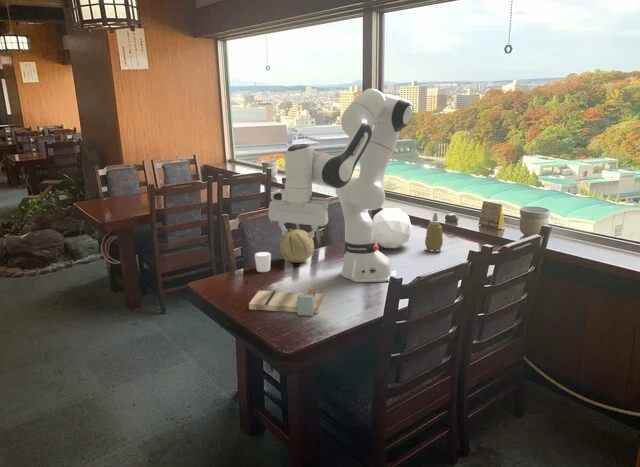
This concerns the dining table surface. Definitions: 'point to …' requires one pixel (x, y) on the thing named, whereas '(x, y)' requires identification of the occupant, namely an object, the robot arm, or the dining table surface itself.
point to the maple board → (281, 301)
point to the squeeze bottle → (434, 234)
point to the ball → (391, 228)
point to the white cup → (263, 261)
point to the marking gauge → (306, 303)
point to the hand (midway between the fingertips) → (298, 236)
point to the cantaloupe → (296, 246)
